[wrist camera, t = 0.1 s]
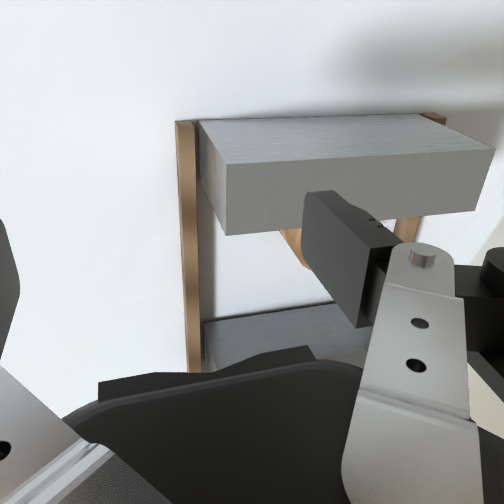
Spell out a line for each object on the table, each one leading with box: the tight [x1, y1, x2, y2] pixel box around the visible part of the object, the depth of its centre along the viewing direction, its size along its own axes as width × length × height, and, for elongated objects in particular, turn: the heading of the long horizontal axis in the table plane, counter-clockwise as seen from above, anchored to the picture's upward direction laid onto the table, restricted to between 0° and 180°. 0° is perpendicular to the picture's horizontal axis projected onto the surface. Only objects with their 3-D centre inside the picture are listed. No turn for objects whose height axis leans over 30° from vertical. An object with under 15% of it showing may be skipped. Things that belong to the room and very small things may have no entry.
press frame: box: [175, 113, 447, 373], centre depth 35 cm, size 23×19×2 cm
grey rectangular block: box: [198, 113, 496, 236], centre depth 28 cm, size 4×16×8 cm, turn 88°
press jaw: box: [204, 303, 374, 373], centre depth 34 cm, size 5×16×13 cm, turn 88°
